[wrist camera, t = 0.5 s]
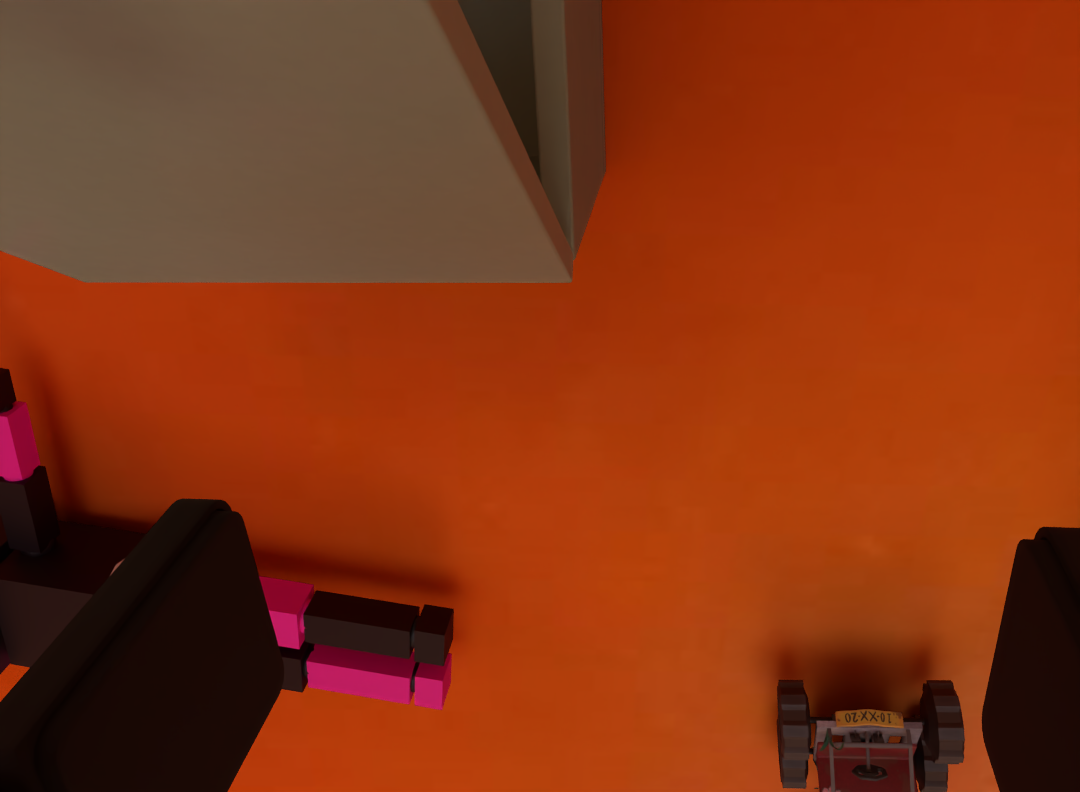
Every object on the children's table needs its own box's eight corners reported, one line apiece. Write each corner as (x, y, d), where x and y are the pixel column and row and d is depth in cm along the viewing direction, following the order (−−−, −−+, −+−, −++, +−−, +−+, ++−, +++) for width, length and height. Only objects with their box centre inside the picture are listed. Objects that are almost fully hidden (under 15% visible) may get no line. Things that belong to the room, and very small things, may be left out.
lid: (-927, -171, 10) (-943, -100, 9) (322, -307, 7) (314, -213, 7) (87, 255, 26) (84, 283, 26) (573, 252, 23) (572, 283, 23)
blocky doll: (-107, 321, 39) (-243, 394, 33) (473, 401, 37) (431, 493, 31) (3, 691, 50) (-87, 793, 44) (458, 772, 47) (425, 891, 41)
